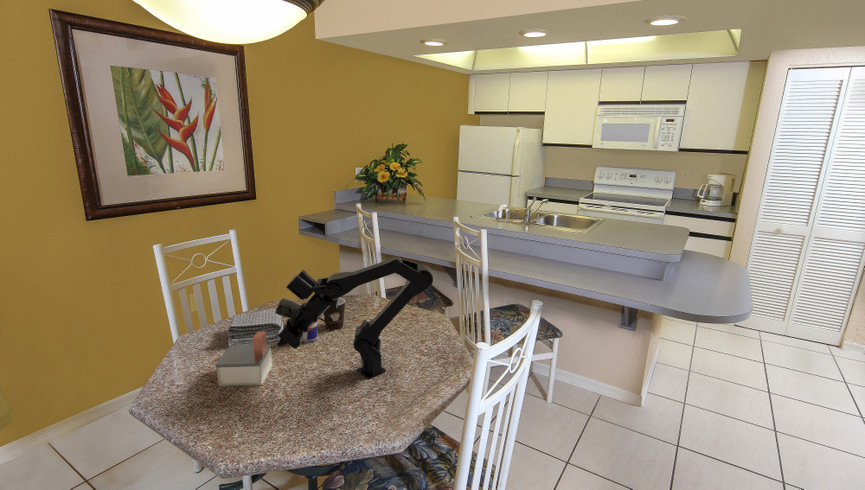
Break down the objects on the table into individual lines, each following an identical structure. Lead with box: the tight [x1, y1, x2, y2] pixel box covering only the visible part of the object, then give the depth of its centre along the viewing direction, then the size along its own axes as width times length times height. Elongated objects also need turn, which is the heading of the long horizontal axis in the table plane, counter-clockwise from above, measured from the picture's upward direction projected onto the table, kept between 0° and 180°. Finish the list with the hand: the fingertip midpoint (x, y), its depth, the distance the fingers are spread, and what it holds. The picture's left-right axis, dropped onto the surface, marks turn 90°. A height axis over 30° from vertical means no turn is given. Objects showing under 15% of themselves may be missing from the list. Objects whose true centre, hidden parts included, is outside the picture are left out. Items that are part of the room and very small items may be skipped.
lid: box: [215, 331, 272, 368], centre depth 126 cm, size 12×11×7 cm
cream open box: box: [215, 348, 273, 387], centre depth 127 cm, size 12×11×6 cm
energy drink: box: [302, 321, 319, 344], centre depth 150 cm, size 5×5×12 cm
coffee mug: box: [318, 297, 346, 331], centre depth 161 cm, size 12×9×10 cm
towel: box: [226, 308, 284, 348], centre depth 153 cm, size 15×18×8 cm
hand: (278, 345), depth 126 cm, fingers closed
